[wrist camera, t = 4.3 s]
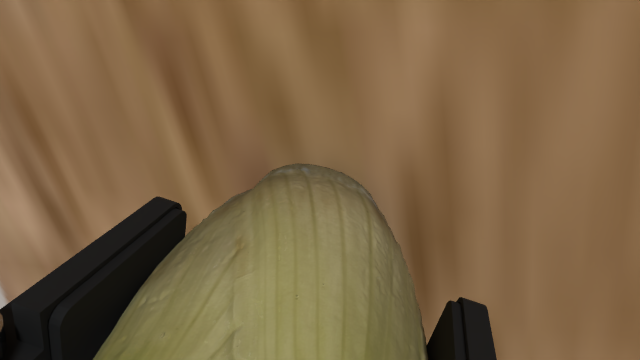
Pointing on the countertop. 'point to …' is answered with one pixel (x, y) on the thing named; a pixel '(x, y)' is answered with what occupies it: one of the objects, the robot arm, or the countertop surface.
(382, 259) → the fennel bulb
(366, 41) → the countertop surface
